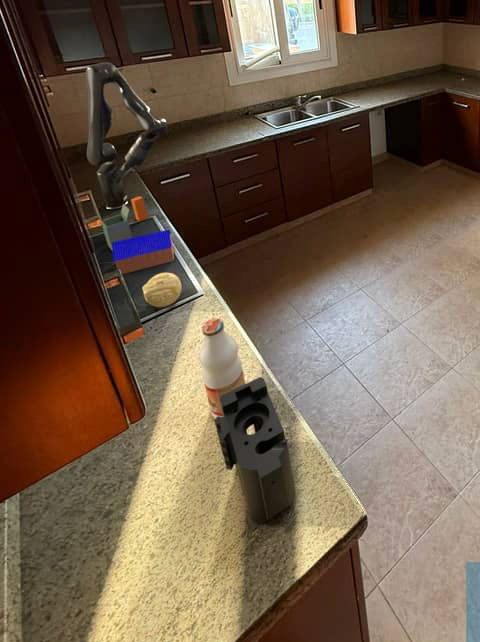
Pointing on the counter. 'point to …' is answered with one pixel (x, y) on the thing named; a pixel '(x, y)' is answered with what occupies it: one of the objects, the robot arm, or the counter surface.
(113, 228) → the chute
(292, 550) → the counter surface
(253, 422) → the black machined bracket
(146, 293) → the tan round lump
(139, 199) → the packet
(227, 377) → the fruit juice
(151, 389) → the counter surface
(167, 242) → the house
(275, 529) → the counter surface
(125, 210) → the flap
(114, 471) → the counter surface
